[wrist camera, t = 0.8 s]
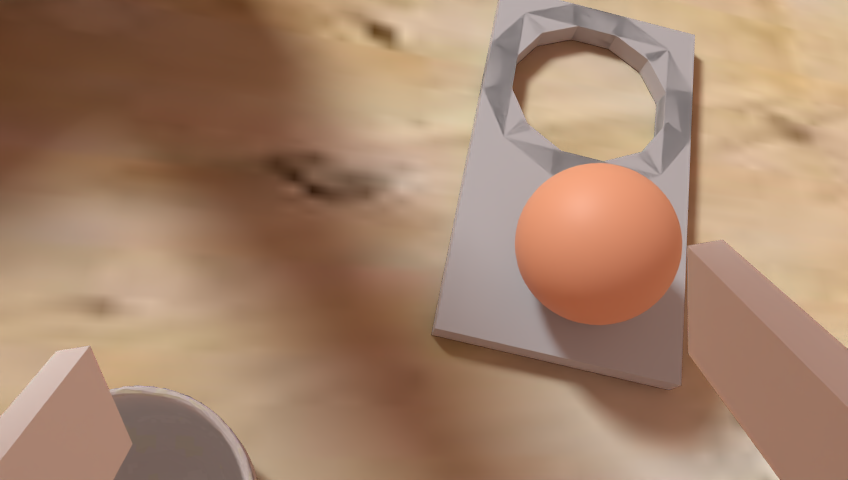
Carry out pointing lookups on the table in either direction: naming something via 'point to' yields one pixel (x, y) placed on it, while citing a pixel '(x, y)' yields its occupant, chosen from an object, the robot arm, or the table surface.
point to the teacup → (177, 438)
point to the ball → (598, 244)
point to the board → (533, 165)
